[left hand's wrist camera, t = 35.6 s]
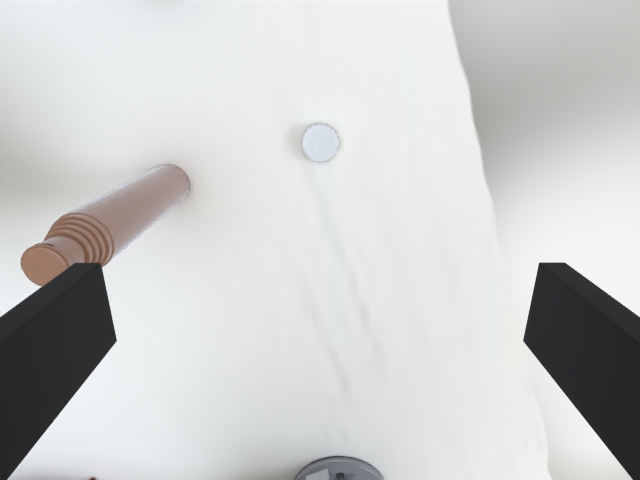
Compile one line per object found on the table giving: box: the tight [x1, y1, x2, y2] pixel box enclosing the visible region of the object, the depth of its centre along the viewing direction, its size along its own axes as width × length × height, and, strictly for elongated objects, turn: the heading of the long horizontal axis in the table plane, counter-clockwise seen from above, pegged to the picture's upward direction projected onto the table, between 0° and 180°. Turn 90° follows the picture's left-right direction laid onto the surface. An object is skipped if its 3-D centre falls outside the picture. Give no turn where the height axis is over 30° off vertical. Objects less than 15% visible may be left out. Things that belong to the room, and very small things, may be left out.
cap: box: [302, 123, 339, 162], centre depth 47 cm, size 4×4×2 cm
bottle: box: [21, 164, 190, 287], centre depth 38 cm, size 5×5×24 cm
